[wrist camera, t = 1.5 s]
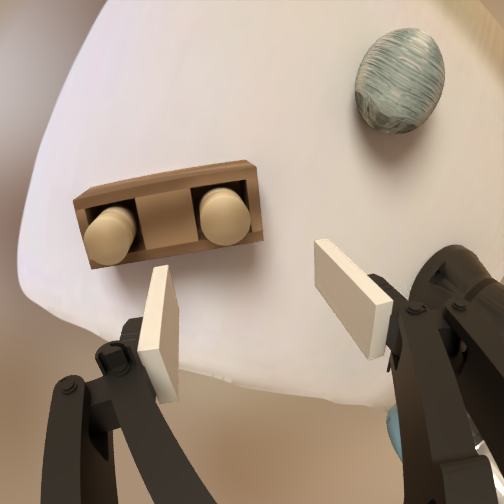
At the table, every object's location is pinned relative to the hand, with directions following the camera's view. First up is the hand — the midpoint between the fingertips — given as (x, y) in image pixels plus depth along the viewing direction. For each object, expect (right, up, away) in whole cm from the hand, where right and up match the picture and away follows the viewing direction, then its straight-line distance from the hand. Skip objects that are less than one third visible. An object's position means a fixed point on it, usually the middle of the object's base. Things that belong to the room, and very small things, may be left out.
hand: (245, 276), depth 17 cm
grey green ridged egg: (+16, +22, +16) cm, 31 cm away
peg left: (-13, +4, +13) cm, 19 cm away
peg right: (-3, +6, +14) cm, 16 cm away
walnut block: (-8, +6, +17) cm, 20 cm away
